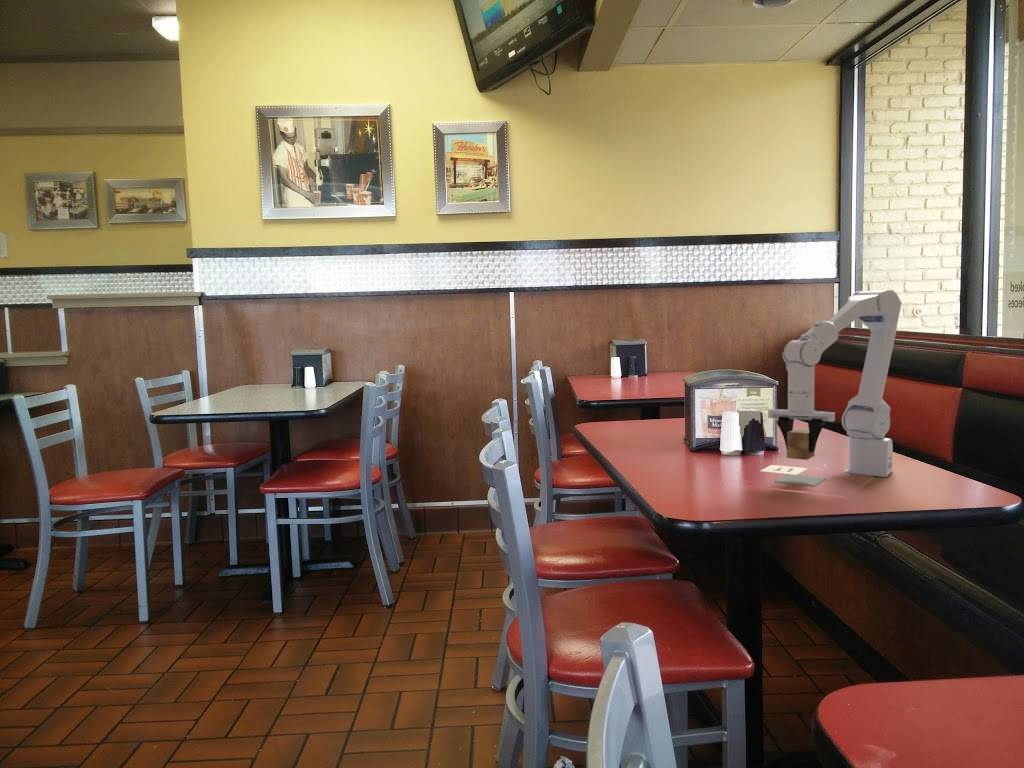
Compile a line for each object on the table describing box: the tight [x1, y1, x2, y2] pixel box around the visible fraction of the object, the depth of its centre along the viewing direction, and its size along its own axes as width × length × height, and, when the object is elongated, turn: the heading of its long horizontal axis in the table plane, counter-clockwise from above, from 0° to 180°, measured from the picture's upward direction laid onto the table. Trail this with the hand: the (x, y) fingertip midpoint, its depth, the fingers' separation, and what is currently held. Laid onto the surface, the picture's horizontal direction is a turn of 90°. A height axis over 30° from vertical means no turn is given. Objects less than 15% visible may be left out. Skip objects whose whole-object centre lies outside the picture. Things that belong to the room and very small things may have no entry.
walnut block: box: [786, 428, 815, 461], centre depth 178 cm, size 4×6×6 cm
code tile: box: [760, 464, 808, 475], centre depth 191 cm, size 9×9×1 cm
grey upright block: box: [736, 408, 762, 437], centre depth 218 cm, size 6×4×12 cm
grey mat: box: [774, 474, 827, 487], centre depth 179 cm, size 9×9×1 cm
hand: (800, 450), depth 178 cm, fingers closed on walnut block, 4 cm apart
